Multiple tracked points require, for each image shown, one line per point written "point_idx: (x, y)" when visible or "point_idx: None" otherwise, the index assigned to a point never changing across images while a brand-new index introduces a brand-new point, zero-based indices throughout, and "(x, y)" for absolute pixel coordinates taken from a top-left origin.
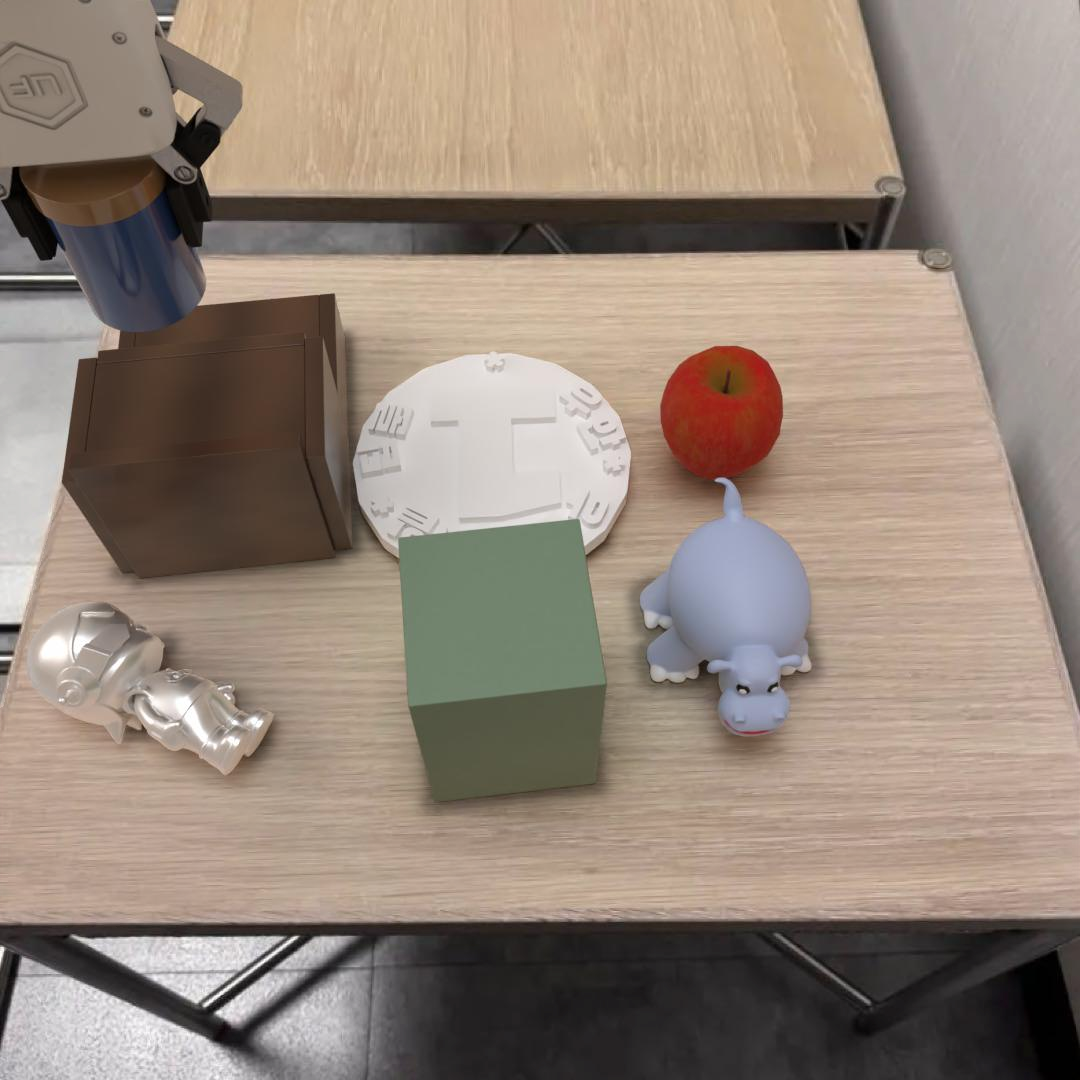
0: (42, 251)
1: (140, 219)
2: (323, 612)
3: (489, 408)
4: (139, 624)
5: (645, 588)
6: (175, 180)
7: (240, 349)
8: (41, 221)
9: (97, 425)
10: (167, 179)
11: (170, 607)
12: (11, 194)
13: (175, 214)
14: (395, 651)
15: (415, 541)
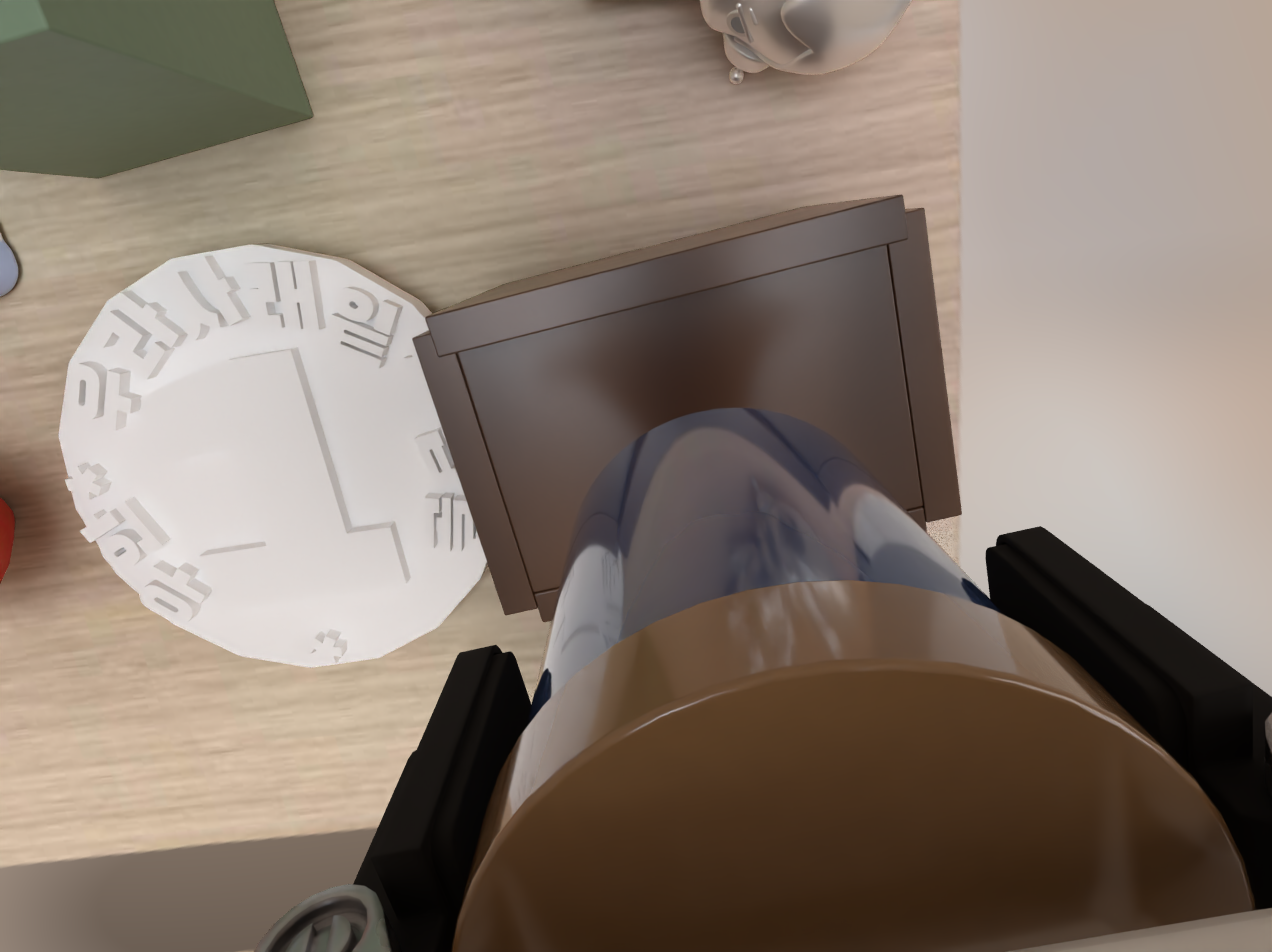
0: (1033, 546)
1: (565, 679)
2: (495, 180)
3: (305, 560)
4: (746, 37)
5: (6, 279)
6: (411, 901)
7: None
8: None
9: (884, 359)
10: None
11: (740, 158)
12: (1248, 740)
13: (474, 741)
14: (362, 121)
15: (4, 22)
